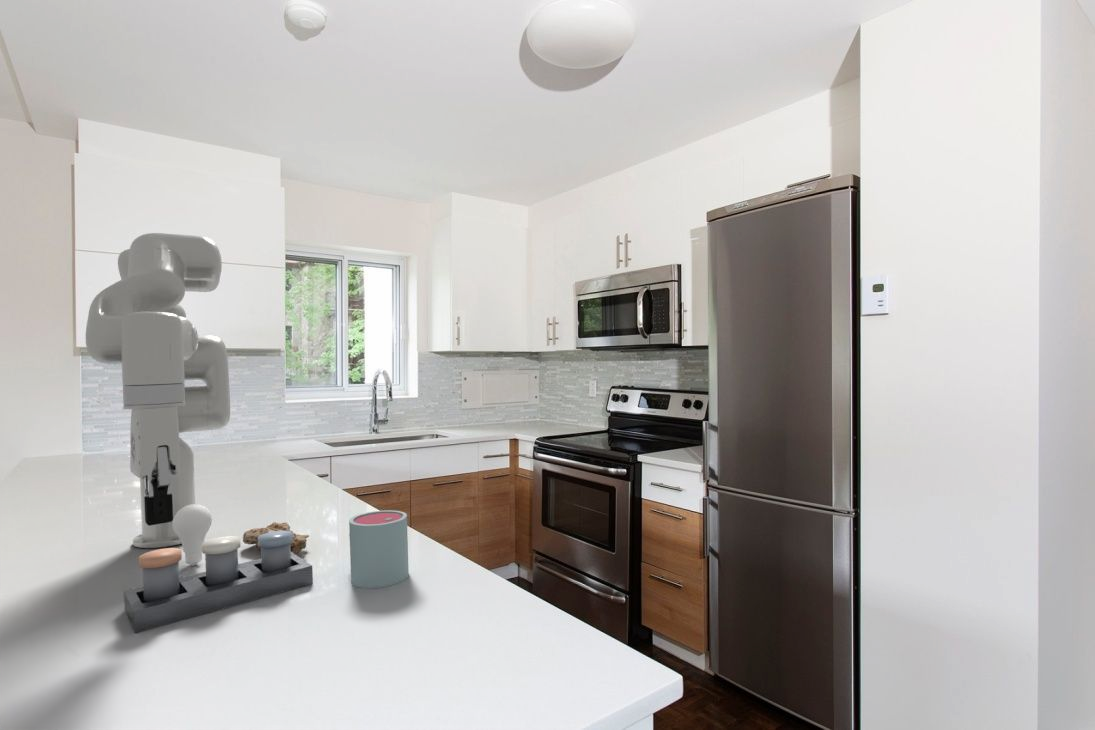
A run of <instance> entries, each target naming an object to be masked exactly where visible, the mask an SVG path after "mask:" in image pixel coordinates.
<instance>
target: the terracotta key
mask: <svg viewBox="0 0 1095 730" xmlns="http://www.w3.org/2000/svg"><path fill="white" fill-rule="evenodd" d="M182 554H183V553H182V549H181V548H177V547H164V548H159V549H158V548H157V549H154V550H150V551H147V552H144V553H143V554H141V555H139V556H138V566H139V568H142V585H143V590H144V601H146V602H151V601H155V600H159V599H163V598H167V597H171V596H175V595H178V594H179V593H180V587H179V578H180V566H179V562H180V561H181V560H182Z"/></svg>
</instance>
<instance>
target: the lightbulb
mask: <svg viewBox="0 0 1095 730" xmlns="http://www.w3.org/2000/svg"><path fill="white" fill-rule="evenodd" d="M212 516H213V515H212V514H211V511H210V510H209V509H208V508H207V507H206V506H204V505H203V504H202V505H201V504H198V503H197V504H196V503H195V504H191V505H188V506H185V507H183V508H182V509H180V510H179V511H178V512H177V513H176V515H175V516H174V519H173V523H172V525H173V529H174V531H175V533H176V534H177V536H178V537H179V538H180V540H181V542H182V544H181V545H182V552H183V553H184V559H185V563H186V564H187V565H190V566H192V567H193V566H196V565H198V564H199V563H200V562H201V561H202V559H203V553H202V543H203V542H205V539H206V536H207V534H208V532H209V530H210V528H211V526H212V522H213V517H212Z"/></svg>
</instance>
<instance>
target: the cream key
mask: <svg viewBox="0 0 1095 730" xmlns="http://www.w3.org/2000/svg"><path fill="white" fill-rule="evenodd" d="M239 548H241V537H240V536H237V535H226V536H218V537H213V538H210V539H207V540H204V542H203V543H202V554H203V555H204V557H205V558H204V559H205V560H204V561H205V572H206V584H207V585H208V586H215V585H219V584H223V583H227V582H231V581H235V580H238V578H239V576H238V564H239V553H238V552H239V550H238V549H239Z"/></svg>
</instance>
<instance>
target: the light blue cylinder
mask: <svg viewBox="0 0 1095 730" xmlns="http://www.w3.org/2000/svg"><path fill="white" fill-rule="evenodd" d="M291 531H292V530H290V531H274V532H269V533H265V534H262V535H260V536H259V537H258V546H259V547H261V550H260V556H261V557H260V559H261V564H262V572H263V573H267V572H271V571H275V570H279V569H283V568H287V567H291V548H290V543H291V542H292V541H293V533H294V532H293V531H292V532H293V533H292V532H291Z"/></svg>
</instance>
